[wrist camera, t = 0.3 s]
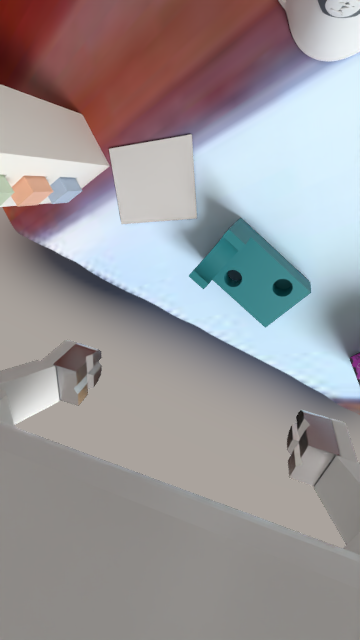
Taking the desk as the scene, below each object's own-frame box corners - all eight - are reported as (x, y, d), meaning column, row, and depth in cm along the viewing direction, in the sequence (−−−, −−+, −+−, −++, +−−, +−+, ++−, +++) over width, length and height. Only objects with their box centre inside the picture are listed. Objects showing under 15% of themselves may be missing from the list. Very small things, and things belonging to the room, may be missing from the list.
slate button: (53, 178, 54) (36, 177, 50) (67, 165, 52) (51, 163, 48) (67, 202, 55) (52, 203, 52) (82, 190, 53) (67, 191, 50)
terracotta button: (20, 176, 47) (-3, 176, 43) (35, 161, 45) (13, 159, 41) (37, 204, 48) (17, 206, 45) (53, 191, 46) (33, 192, 43)
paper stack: (100, 89, 51) (98, 87, 50) (239, 53, 43) (239, 51, 42) (123, 223, 60) (121, 224, 59) (240, 214, 52) (240, 215, 52)
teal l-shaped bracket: (205, 258, 58) (188, 275, 50) (240, 217, 52) (228, 228, 43) (267, 315, 59) (262, 342, 51) (310, 282, 53) (311, 305, 44)
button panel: (38, 157, 59) (-147, 135, 34) (82, 114, 53) (-103, 46, 27) (64, 202, 62) (-89, 213, 36) (109, 165, 56) (-37, 148, 30)
